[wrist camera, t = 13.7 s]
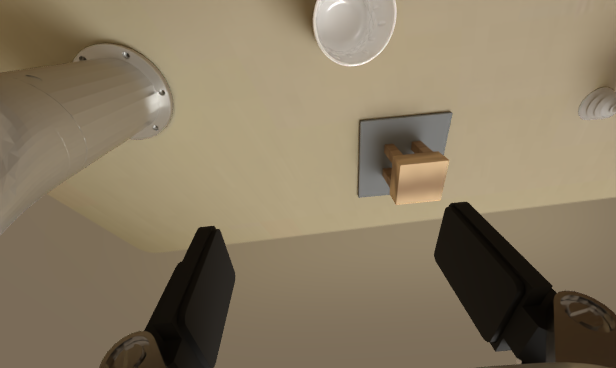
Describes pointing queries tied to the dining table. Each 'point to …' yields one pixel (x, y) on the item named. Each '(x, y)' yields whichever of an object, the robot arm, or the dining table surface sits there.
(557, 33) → the dining table surface
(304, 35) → the dining table surface
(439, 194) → the stool
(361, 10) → the white cup
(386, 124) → the mat
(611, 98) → the chalice
